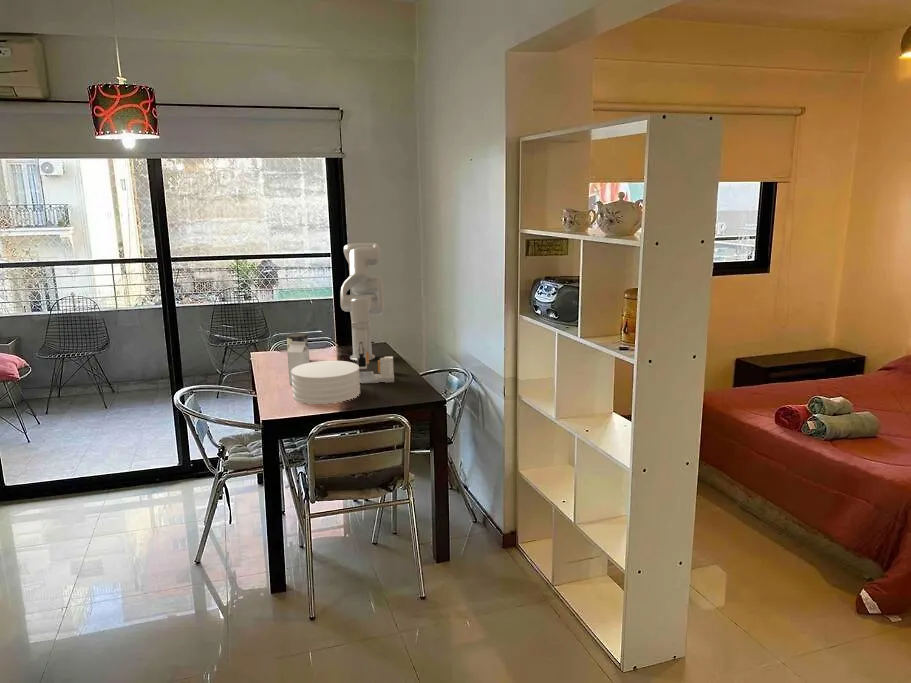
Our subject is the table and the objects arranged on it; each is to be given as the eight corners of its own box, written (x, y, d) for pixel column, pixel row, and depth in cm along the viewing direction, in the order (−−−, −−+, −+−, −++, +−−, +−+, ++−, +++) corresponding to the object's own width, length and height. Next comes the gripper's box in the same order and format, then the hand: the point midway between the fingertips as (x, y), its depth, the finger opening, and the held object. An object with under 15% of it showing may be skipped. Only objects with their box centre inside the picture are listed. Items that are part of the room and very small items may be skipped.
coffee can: (312, 360, 348) (311, 333, 345) (302, 365, 338) (300, 337, 335) (295, 358, 351) (293, 332, 348) (284, 363, 342) (282, 336, 338)
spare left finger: (382, 373, 321) (382, 356, 319) (393, 372, 322) (392, 356, 320) (382, 375, 317) (382, 358, 315) (393, 375, 318) (393, 358, 316)
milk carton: (304, 385, 302) (301, 343, 298) (289, 384, 304) (286, 343, 300) (310, 381, 309) (308, 340, 305) (296, 380, 310) (293, 339, 306)
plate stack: (348, 382, 307) (346, 357, 304) (369, 398, 283) (368, 371, 280) (285, 391, 294) (284, 365, 292) (302, 408, 270) (301, 381, 268)
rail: (341, 379, 311) (339, 358, 308) (393, 377, 313) (393, 356, 311) (340, 384, 303) (339, 362, 301) (394, 382, 306) (393, 360, 304)
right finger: (358, 366, 308) (357, 349, 307) (369, 366, 309) (368, 349, 307) (357, 368, 304) (357, 351, 303) (369, 368, 305) (368, 351, 303)
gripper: (352, 322, 310) (354, 361, 314) (351, 329, 294) (353, 370, 298) (369, 321, 311) (370, 360, 315) (368, 328, 295) (370, 369, 299)
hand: (362, 364), depth 306 cm, fingers closed on right finger, 4 cm apart
